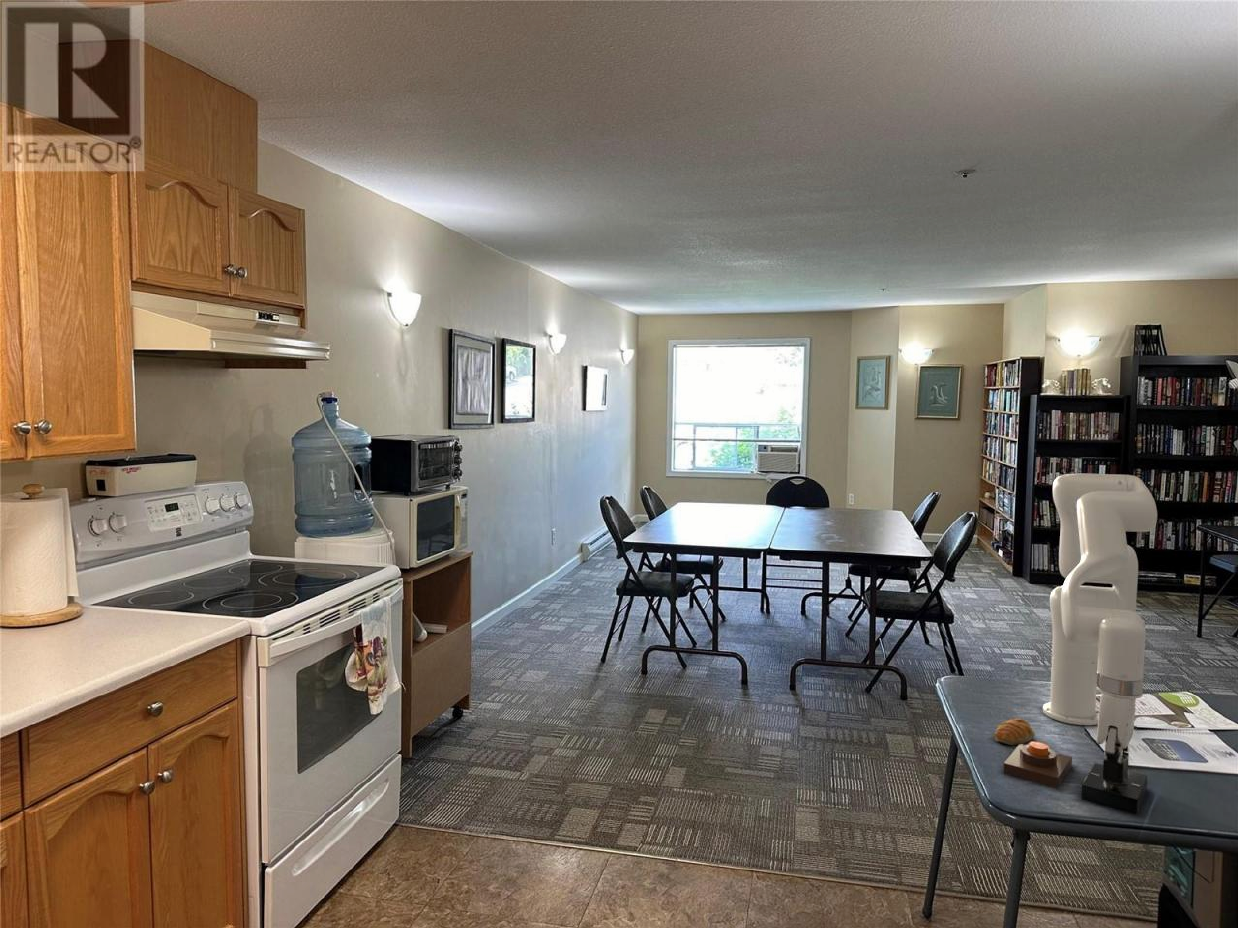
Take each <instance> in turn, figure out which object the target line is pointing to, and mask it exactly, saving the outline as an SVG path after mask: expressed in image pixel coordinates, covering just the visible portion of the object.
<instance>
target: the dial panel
mask: <svg viewBox="0 0 1238 928" xmlns="http://www.w3.org/2000/svg"><path fill="white" fill-rule="evenodd" d="M1148 778H1149V777H1148V775H1145V774H1142V773H1138V772H1133V771H1129V770H1128V781H1127V784H1125V785H1117V784H1113V783H1110V782H1107V781H1106V780H1104V779H1103V764H1101V763H1098V762H1094V764H1093V765H1092V767H1091V769H1090V771H1089V772H1088V774H1087V775H1086V778H1085V779H1084V781H1083V782H1082V784H1081V800H1082V801H1085V802H1088V803H1093V804H1096V805H1100V806H1103V807H1107V808H1110V809H1114V810H1117V811H1121V812H1125V813H1128V814H1132V815H1135V816H1137V815H1138V813H1139V811H1140V808H1141V806H1142V803H1143V801H1144V799H1145V796H1146V794H1147V791H1148Z"/></svg>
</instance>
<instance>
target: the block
mask: <svg viewBox="0 0 1238 928" xmlns="http://www.w3.org/2000/svg"><path fill="white" fill-rule="evenodd" d="M1071 768H1073V756H1071V755H1066V754H1062V753H1058V752H1056V751H1055V750H1054V749H1051V748H1049V752H1048V756H1037V755H1034V754H1031V753H1029V744H1024V743H1023V744H1018V746H1017V747H1016V748H1015V749H1014V750H1013V752H1012V753H1011V754H1010V755H1009V756H1008V758H1007V759H1006V760H1005V761H1004V762H1003V774H1004V775H1008V776H1011V777H1015V778H1019V779H1023V780H1025V781H1029V782H1033V783H1037V784H1040V785H1043V786H1047V787H1052V788H1054V789H1059V788H1060V785H1061V784H1062V783H1063V781H1064V780H1065V778H1066V776H1067V775H1068V773H1069V772H1070V770H1071Z"/></svg>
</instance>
